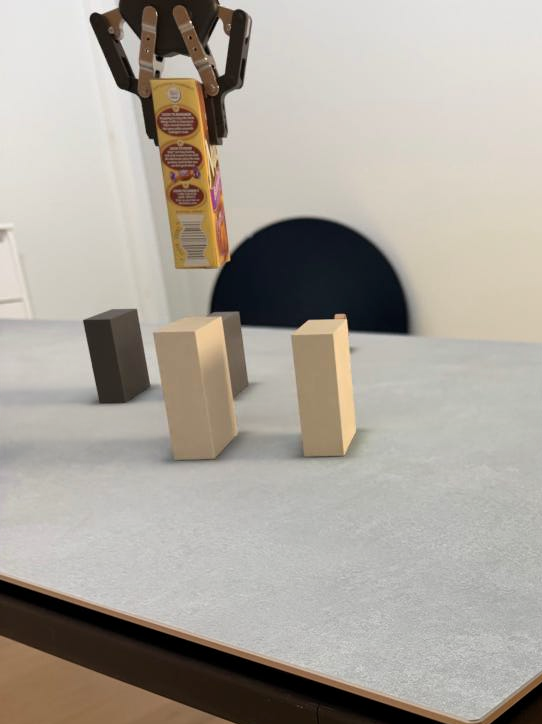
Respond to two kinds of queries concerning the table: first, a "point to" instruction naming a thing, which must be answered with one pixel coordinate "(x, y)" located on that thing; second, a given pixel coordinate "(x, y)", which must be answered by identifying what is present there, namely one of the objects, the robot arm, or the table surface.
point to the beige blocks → (214, 394)
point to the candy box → (190, 174)
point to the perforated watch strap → (341, 316)
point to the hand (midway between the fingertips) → (189, 144)
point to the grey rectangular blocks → (127, 357)
